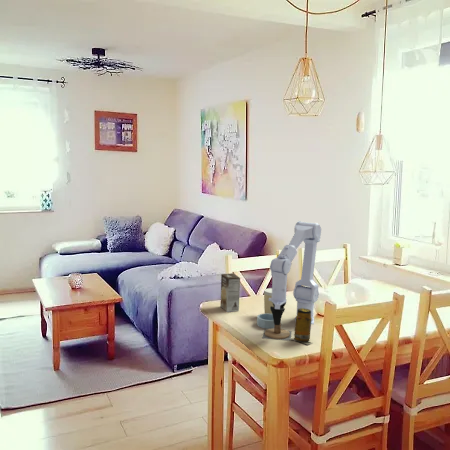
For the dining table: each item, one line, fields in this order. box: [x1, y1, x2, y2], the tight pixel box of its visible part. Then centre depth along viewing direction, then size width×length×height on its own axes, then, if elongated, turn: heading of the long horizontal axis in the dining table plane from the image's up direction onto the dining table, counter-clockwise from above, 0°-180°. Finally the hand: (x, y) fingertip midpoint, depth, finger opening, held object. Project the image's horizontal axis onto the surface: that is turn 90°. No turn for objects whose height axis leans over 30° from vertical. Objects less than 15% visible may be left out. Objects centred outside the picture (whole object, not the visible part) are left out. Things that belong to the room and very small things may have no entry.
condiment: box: [290, 308, 313, 345], centre depth 187 cm, size 7×8×12 cm
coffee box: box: [220, 272, 241, 313], centre depth 225 cm, size 9×6×16 cm
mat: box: [261, 328, 292, 342], centre depth 192 cm, size 11×11×1 cm
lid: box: [265, 322, 290, 340], centre depth 192 cm, size 10×10×5 cm
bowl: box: [256, 312, 274, 329], centre depth 204 cm, size 10×10×4 cm
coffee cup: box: [263, 287, 283, 319], centre depth 216 cm, size 9×9×12 cm
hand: (277, 321), depth 192 cm, fingers open, 7 cm apart
